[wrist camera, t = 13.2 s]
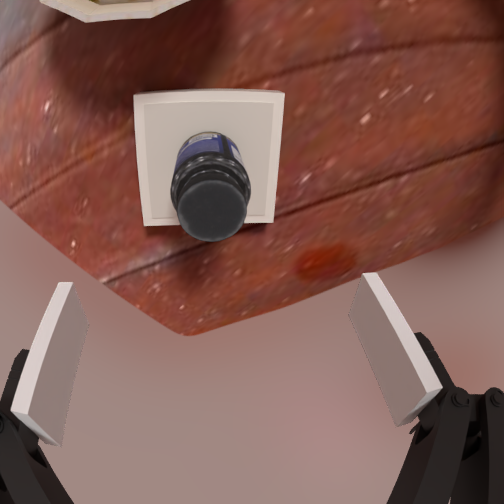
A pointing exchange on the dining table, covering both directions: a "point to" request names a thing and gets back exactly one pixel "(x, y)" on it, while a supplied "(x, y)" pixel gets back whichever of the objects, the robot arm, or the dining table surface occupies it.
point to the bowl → (112, 8)
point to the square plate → (205, 120)
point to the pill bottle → (210, 187)
